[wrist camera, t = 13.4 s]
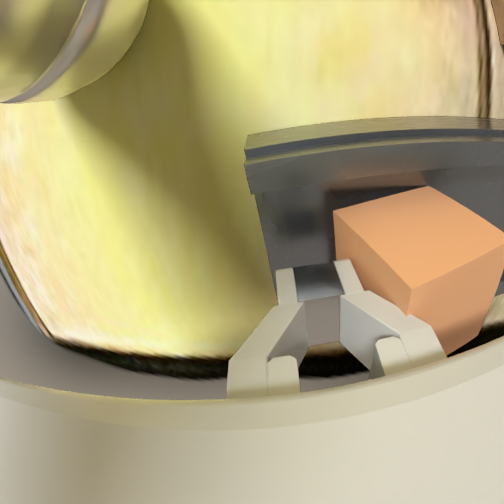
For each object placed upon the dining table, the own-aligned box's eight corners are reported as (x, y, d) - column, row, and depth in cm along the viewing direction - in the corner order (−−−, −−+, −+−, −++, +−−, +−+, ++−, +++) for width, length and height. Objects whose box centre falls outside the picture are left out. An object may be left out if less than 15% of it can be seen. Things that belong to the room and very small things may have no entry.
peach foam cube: (332, 210, 9) (411, 289, 5) (428, 185, 9) (512, 238, 6) (338, 305, 11) (387, 387, 7) (419, 273, 11) (477, 335, 8)
